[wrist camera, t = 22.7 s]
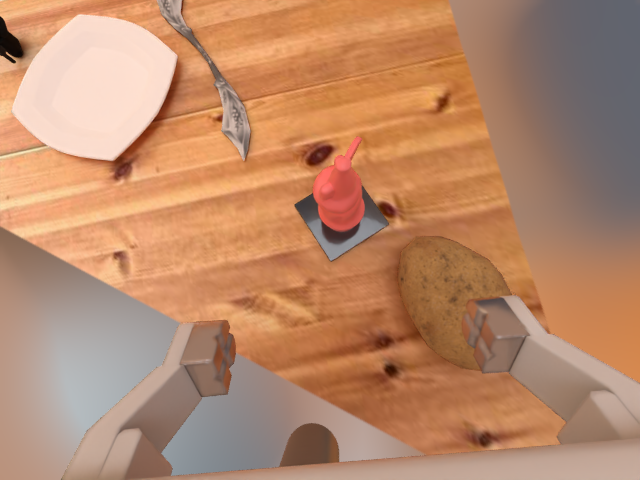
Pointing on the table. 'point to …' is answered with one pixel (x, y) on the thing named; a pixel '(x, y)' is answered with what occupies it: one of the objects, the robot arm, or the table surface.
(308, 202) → the coaster
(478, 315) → the robot arm
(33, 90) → the plate
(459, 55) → the table surface
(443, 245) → the potato
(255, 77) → the table surface
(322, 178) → the figurine
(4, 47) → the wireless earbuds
